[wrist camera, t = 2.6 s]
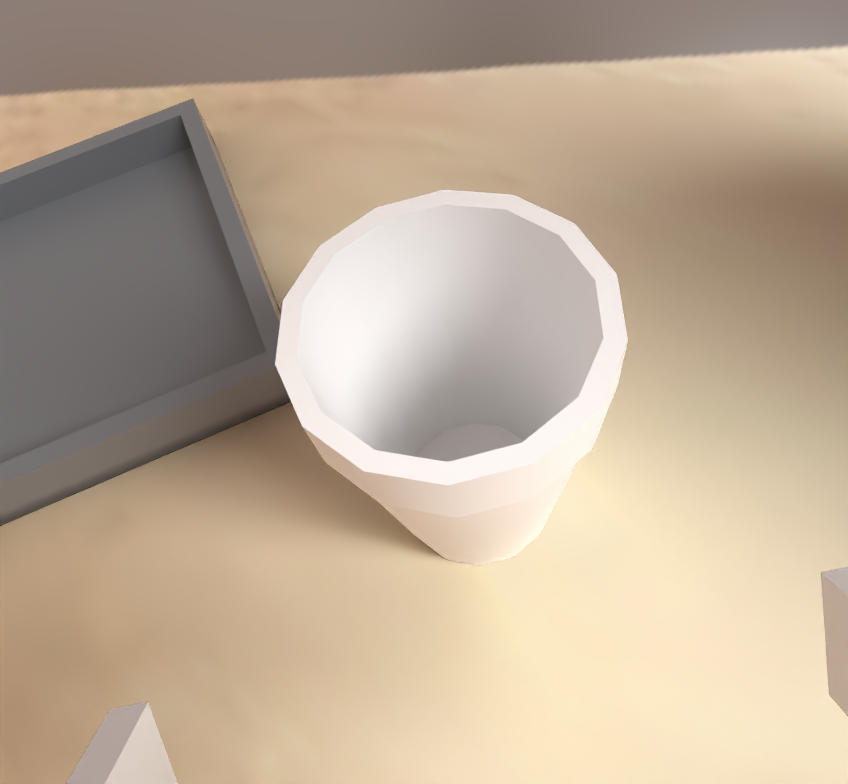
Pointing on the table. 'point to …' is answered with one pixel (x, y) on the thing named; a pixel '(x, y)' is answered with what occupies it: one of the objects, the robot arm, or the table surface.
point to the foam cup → (455, 363)
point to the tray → (125, 309)
